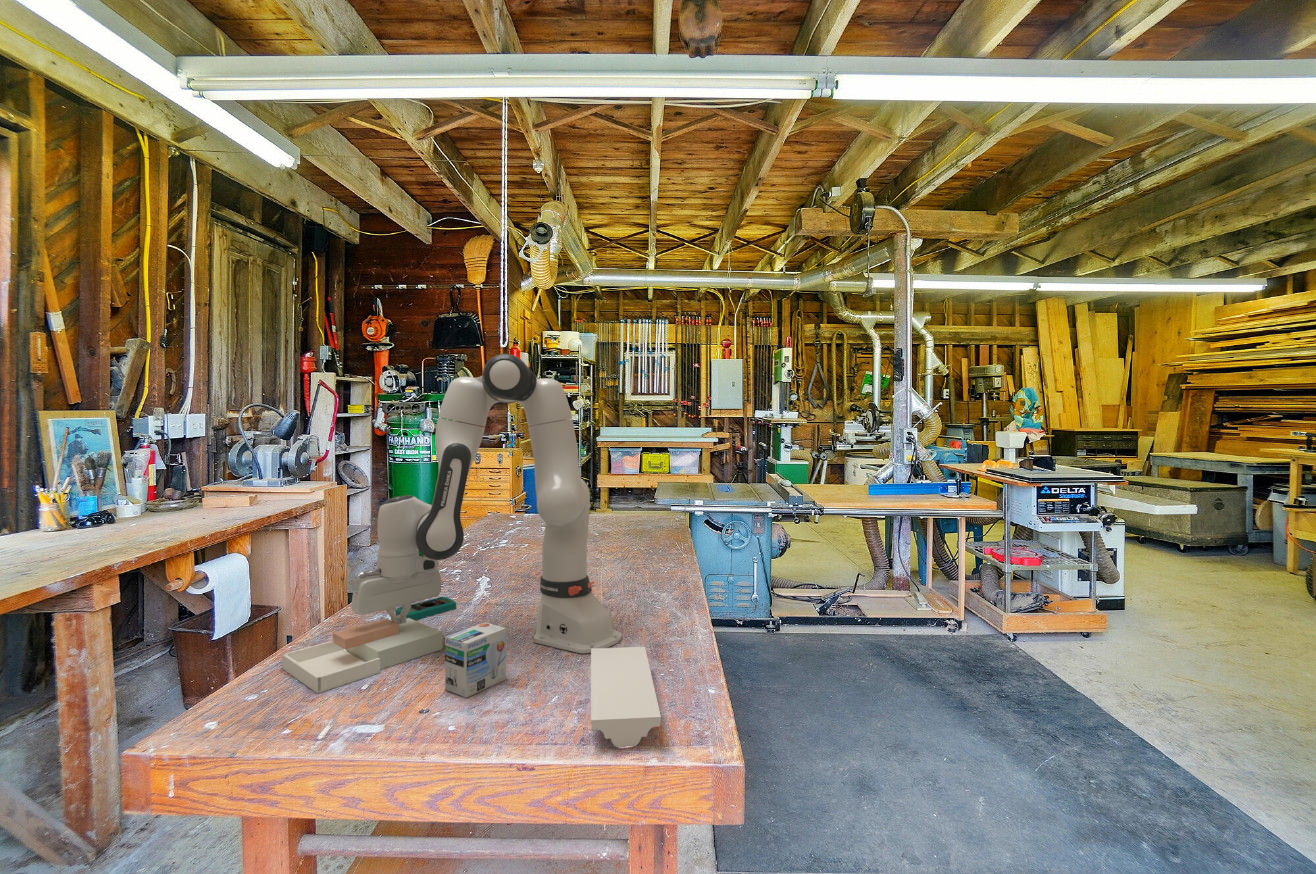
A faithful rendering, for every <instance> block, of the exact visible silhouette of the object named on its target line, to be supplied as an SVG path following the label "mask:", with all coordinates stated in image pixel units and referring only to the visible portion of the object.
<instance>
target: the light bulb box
mask: <svg viewBox="0 0 1316 874" xmlns="http://www.w3.org/2000/svg"><path fill="white" fill-rule="evenodd" d="M444 674H445V675H444V690H445V691H448V692H450V693H453V694H456V695H458V696H460V697H464V698H469V697H472V696H474V695H476V694H478V693H480V692H482V691H484V690H486V689H488V688H490V687H492V686H495V685H497V684H499V683H501V682H503V681H505V680H506V679H507V628H506V627H503V626H500V625H496V624H493V623H490V622H482V623H479V624H476V625H473V626H471V627H468V628H465V629H463V630H460V631H458V632H455V633H452V634H450V635H447V636H445V637H444Z"/></svg>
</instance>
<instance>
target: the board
mask: <svg viewBox="0 0 1316 874" xmlns="http://www.w3.org/2000/svg"><path fill="white" fill-rule="evenodd" d="M441 650H443V631H441V630H439V629H436V628H433V627H431V626H429V625H426V624H425V623H422V622H419V621H418V620H413V619H410V618H407V619H406V623H402V624H399V634H396V635H393V636H390V637H386V638H383V639H379V640H376V641H373V642H369V643H366V644H363V645H359V646H356V647H353V648H349V649H346V650H345V651H347V652H349V653H350V654H352V655H354V656H356V657H357V658H359V659H361V660H363V661H365V662H367V661H370V660H373V659H377V658H380V670H383V669H386V668H390V667H392V666H395V665H399V664H401V663H405V662H407V661H411V660H414V659H417V658H420V657H422V656H426V655H430V654H432V653H435V652H437V651H441Z"/></svg>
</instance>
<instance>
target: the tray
mask: <svg viewBox="0 0 1316 874" xmlns="http://www.w3.org/2000/svg"><path fill="white" fill-rule="evenodd" d="M281 668H282V670H284V671H285V672H287V673H288V674H289V675H291V676H292V677H293V678H295V679H296V680H298V681H299V682H301V683H302V684H303V685H305V686H306V687H308V688H309V689H311V690H312V691H314V692H315V693H316V694H320V693H324V692H326V691H329V690H333V689H335V688H338V687H341V686H344V685H348V684H350V683H353V682H357V681H360V680H362V679H365V678H369V677H371V676H374V675H376V674H378V675H379V674H380V673H381V669H380V658H377V659H373V660H370V661H367V662H365V661H363V660H361V659H359V658H357V657H356V656H354V655H352V654H350V653H349V652H347V651H346V650H345V649H343V648H342V647H340V646H338V645H336V644H335V643H333V640H330V641H326V642H323V643H319V644H315V645H312V646H311V645H310V646H307V647H304V648H301V649H297V650H293V651H290V652H286V653H283V654H281Z"/></svg>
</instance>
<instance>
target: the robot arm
mask: <svg viewBox="0 0 1316 874" xmlns="http://www.w3.org/2000/svg"><path fill="white" fill-rule="evenodd" d="M568 401H569V400H568V397H567V394H566V392H565V390H564V388H563V385H562V383H560V381H558V380H556V379H553V378H547V377H545V378H537V376H536V375H535V374H534V373H533V371H532V370H531V368H529V366H528V365H527V363H525V362H524V360H522V359H521V358H520V357H518V356H516V355H514V354H512V353H511V354H510V353H500V354H496V355H494V356H493V357H491V358H490V359H489V360H488V361H487V362H486V363H485V365H484V367H483V369H482V375H481V376H479V377H473V376H459V377H456V378H455V379H453V380H452V381H450V383H449V385H448V387H447V390H446V392H445V395H444V397H443V400H442V403H441V406H440V409H439V413H438V415H437V417H438V418H437V420H436V426H435V436H434V437H435V439H434V441H435V442H434V443H435V444H434V445H435V451H436V456H437V463H438V465H437V466H438V473H437V479H436V484H435V488H434V495H433V498H432V499H433V500H432V504H429V503H427V502H425V501H422V500H421V499H418V498H417V497H416V496H414V495H412V494H406V495H399V496H398V495H397V496H394V497H391V498H389V499H386V500H385V501H383V502H382V504H381V505H380V507H379V508H378V509H379V510H378V514H377V530H376V531H377V539H378V542H379V543H378V544H379V545H378V550H377V568H376V569H373V570H368V571H362V572H359V573H358V574H357V575H356V576H355V577H354V578H353V580H352V591H353V592H352V598H351V610H352V611H353V612H354V613H355V614H357V615H360V616H365V615H369V614H372V613H377V612H380V611H384V610H385V611H386V613H387V614H388V616H389V617H390V620H391V621H393V622H395V623H398V624H402V623H406V615H407V614H408V612H409V610H410V608H411V605H412V604H414V603H418V602H422V601H426V600H430V599H434V598H438V597H440V594H441V592H442V577H441V572H440V570H439V569H438V568H439V564H440V563H439V561H441V560H442V561H443V560H446V559H449V558H451V557H453V556H454V555H456V554H457V553H458V551H460V549H461V547H462V545H463V543H464V538H465V534H464V529H463V524H462V521H461V513H462V512H461V511H462V506H463V501H464V495H465V490H466V486H467V480H468V477H469V474H470V470H471V467H472V465H473V463H474V460H475V458H476V456H477V453H478V451H479V449H480V446H481V444H482V440H483V437H484V434H485V430H486V424H487V420H488V416H489V412H490V409H491V408H492V407H493V405H494V406H495V405H506V404H507V405H508V404H514V403H519V404H520V405H521V407H522V409H523V410H524V414H525V419H526V423H527V429H528V434H529V439H530V445H531V450H532V457H533V465H534V481H535V484H534V485H535V493H536V509H537V513H538V515H539V517H540V518H541V520H542V521H544V522H545V523H544V525H545V527H544V535H543V541H542V546H541V547H542V548H541V553H542V555H541V564H542V565H541V566H542V567H541V573H542V574H541V576H540V581H539V590H540V591H539V592H540V593H541V597H540V602H539V605H538V610H537V611H538V612H537V621H536V629H535V631H534V634H535V635H534V637H533V643H536V644H540V645H543V646H547V647H551V648H557V649H559V650H565V651H568V652H569V651H570V652H574V653H579V654H589V653H590V654H591V649H594V648H611V647H612V646H614V645H616V644H617V643H619V642H620V641H622V639H623V634H622V632H620V631H618V630H616V629H614V628H613V620H612V615H611V613H610V612H609V610H608V609H607V607H606V606H604V605H603V603H601V601H600V600H599V599H598V597H596V596H595V595H594V593H593V589H592V588H593V587H595V585H594V584H595V583H596V582H595V581H590V578H589V575H588V569H587V568H588V567H587V566H588V564H587V563H588V561H587V560H588V559H587V558H588V555H587V553H588V547H587V545H588V536H589V533H588V532H589V522H590V521H589V520H590V506H591V505H590V504H591V502H590V501H591V492H590V489H589V488H590V487H589V486H588V485H587V483H586V482H585V481H584V480H583V479H582V478H581V473H580V463H579V462H580V461H579V448H578V443H577V437H576V432H575V431H576V430H575V426H574V420H573V416H572V411H571V407H570V404H569V402H568ZM419 553H420V554H419ZM398 607H403V608H402V611H401V613H400V615H396V609H397V608H398Z"/></svg>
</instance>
